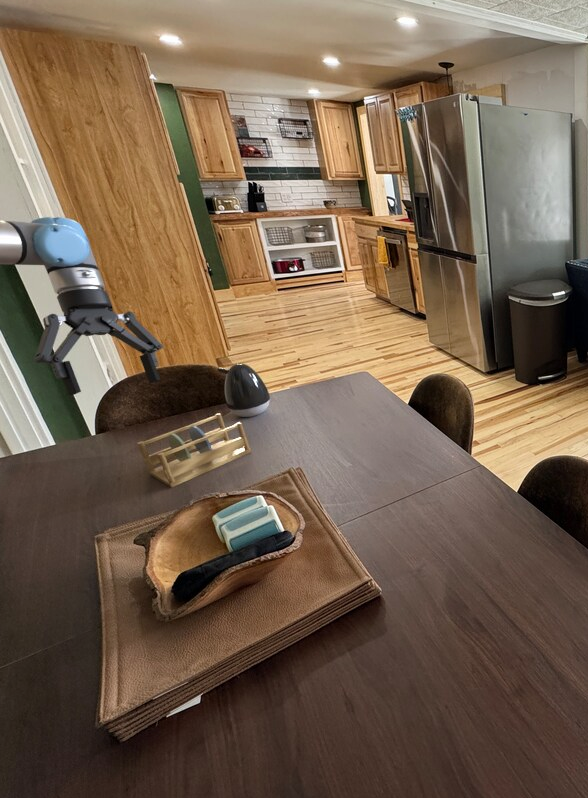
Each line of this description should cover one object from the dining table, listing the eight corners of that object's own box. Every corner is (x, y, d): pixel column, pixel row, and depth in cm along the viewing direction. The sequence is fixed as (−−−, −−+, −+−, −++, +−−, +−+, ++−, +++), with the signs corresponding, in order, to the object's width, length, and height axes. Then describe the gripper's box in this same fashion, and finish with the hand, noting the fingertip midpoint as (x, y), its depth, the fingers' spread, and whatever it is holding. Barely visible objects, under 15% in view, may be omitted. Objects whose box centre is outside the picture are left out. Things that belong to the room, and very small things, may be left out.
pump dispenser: (241, 406, 140) (226, 358, 135) (279, 403, 142) (266, 356, 136) (222, 422, 131) (205, 372, 125) (263, 419, 133) (248, 370, 127)
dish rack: (172, 487, 102) (156, 451, 98) (149, 474, 106) (134, 438, 102) (251, 452, 115) (240, 418, 111) (229, 441, 119) (217, 409, 115)
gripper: (3, 286, 87) (45, 394, 89) (161, 287, 111) (192, 373, 112) (-17, 298, 90) (25, 404, 91) (142, 297, 113) (173, 381, 115)
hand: (117, 387), depth 102 cm, fingers open, 13 cm apart
